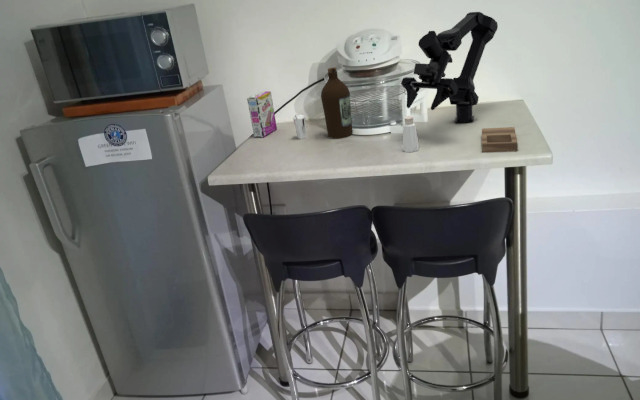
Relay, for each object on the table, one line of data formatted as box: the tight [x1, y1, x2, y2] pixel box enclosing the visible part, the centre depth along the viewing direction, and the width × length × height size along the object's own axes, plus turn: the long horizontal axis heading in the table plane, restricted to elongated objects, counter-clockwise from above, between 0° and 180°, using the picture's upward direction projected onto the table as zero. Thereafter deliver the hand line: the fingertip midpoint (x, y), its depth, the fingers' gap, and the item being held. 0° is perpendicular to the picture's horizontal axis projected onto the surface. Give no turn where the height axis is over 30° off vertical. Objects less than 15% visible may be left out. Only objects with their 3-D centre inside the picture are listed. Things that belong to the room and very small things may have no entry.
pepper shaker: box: [402, 115, 420, 153], centre depth 157 cm, size 5×5×11 cm
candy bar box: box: [246, 90, 278, 139], centre depth 199 cm, size 11×5×16 cm, turn 154°
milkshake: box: [292, 113, 307, 140], centre depth 187 cm, size 5×5×10 cm
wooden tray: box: [481, 126, 519, 153], centre depth 153 cm, size 16×10×2 cm, turn 163°
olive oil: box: [320, 66, 353, 139], centre depth 181 cm, size 11×11×25 cm
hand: (419, 108), depth 158 cm, fingers open, 9 cm apart
